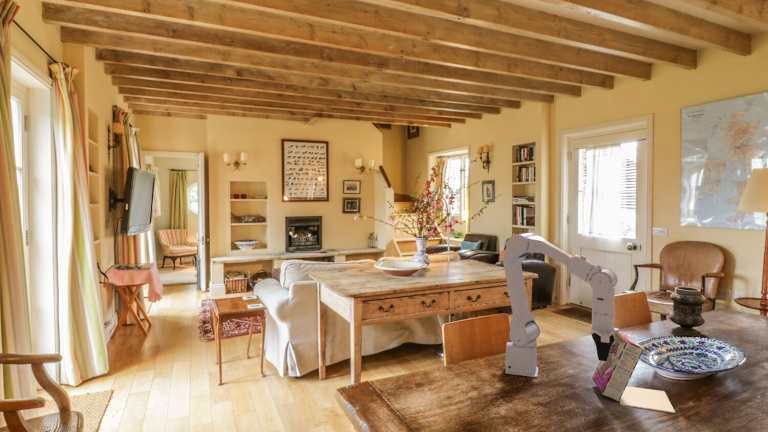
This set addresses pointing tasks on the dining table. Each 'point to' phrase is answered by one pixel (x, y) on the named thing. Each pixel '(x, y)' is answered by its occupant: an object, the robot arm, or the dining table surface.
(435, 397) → the dining table surface
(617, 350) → the candy bar box
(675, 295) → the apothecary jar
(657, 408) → the placemat
